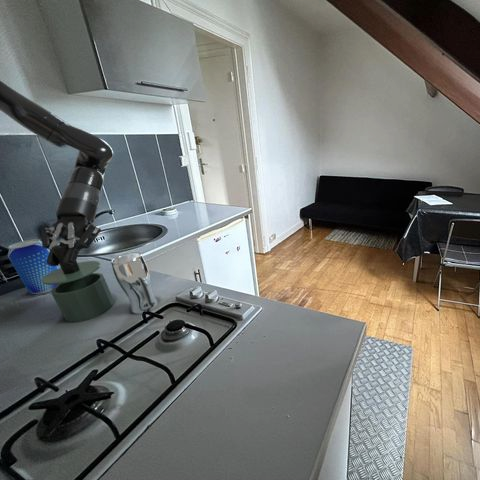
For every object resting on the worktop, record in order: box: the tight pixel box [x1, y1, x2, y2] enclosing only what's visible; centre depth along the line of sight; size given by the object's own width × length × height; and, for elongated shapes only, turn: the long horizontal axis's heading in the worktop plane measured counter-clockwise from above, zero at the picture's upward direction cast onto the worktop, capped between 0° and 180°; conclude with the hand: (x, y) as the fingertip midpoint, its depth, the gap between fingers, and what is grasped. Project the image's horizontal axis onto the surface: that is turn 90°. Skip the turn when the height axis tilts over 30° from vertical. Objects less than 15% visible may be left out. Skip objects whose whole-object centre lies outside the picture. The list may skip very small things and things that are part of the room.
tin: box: [50, 272, 115, 323], centre depth 70 cm, size 10×10×8 cm
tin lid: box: [42, 244, 102, 285], centre depth 66 cm, size 11×11×8 cm
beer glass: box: [110, 252, 159, 315], centre depth 68 cm, size 7×7×15 cm
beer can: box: [7, 238, 60, 297], centre depth 80 cm, size 8×8×16 cm
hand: (60, 264), depth 64 cm, fingers closed on tin lid, 3 cm apart
